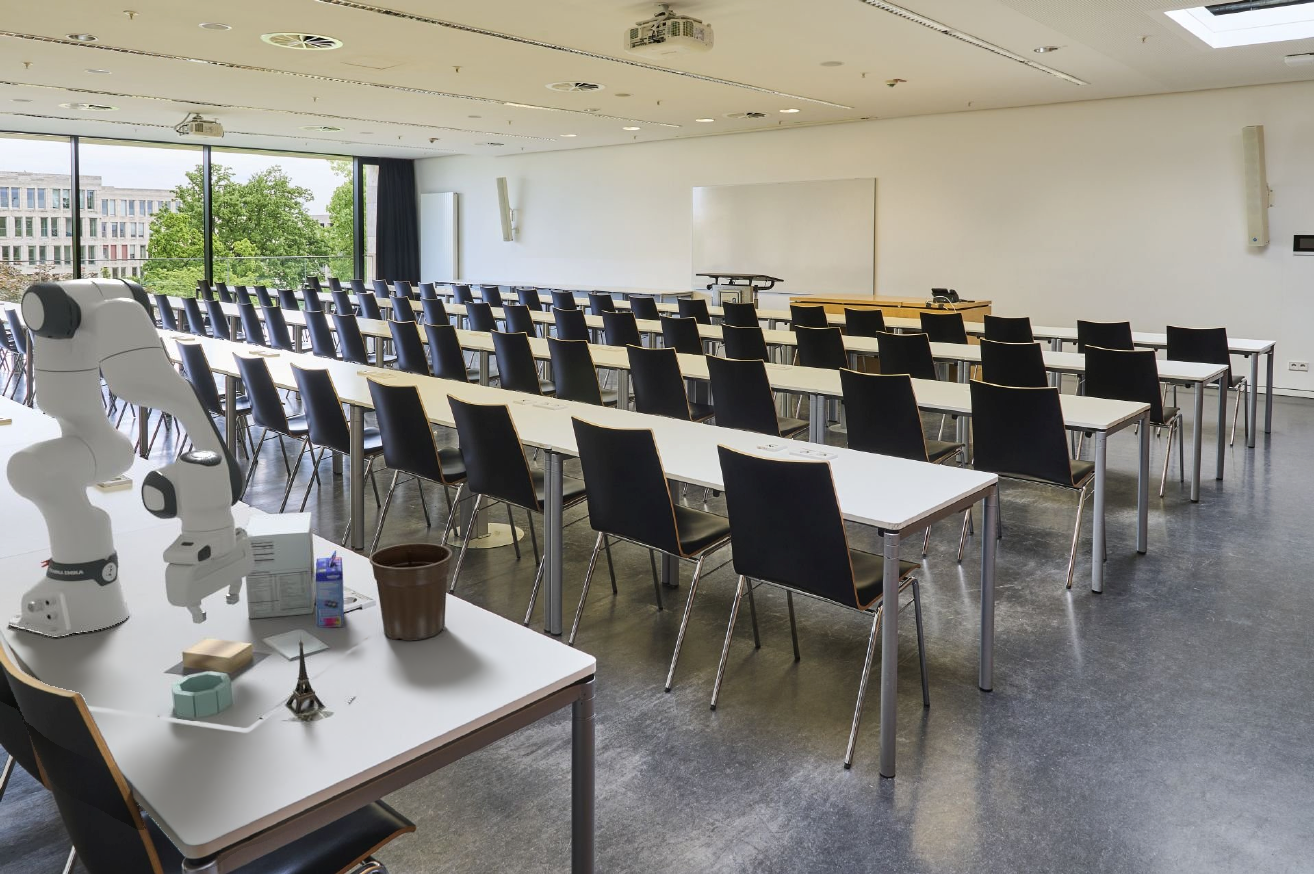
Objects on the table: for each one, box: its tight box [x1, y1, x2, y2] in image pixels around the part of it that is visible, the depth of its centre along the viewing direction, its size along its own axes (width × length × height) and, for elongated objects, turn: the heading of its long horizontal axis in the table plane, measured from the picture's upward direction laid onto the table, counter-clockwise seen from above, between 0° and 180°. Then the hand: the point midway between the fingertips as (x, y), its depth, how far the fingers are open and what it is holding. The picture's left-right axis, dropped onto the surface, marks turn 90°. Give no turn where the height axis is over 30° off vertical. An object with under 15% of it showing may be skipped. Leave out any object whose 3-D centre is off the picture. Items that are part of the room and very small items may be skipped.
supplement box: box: [244, 511, 316, 620], centre depth 214 cm, size 17×13×18 cm
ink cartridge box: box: [315, 550, 345, 629], centre depth 205 cm, size 10×6×14 cm, turn 18°
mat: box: [163, 651, 272, 682], centre depth 184 cm, size 14×12×1 cm
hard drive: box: [261, 628, 331, 661], centre depth 193 cm, size 2×8×12 cm
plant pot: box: [368, 542, 453, 641], centre depth 201 cm, size 16×16×16 cm
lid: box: [181, 637, 254, 673], centre depth 184 cm, size 10×6×3 cm, turn 77°
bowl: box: [171, 671, 233, 722], centre depth 168 cm, size 9×9×4 cm
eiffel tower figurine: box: [258, 636, 355, 723], centre depth 168 cm, size 15×10×13 cm
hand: (216, 612), depth 182 cm, fingers open, 8 cm apart
